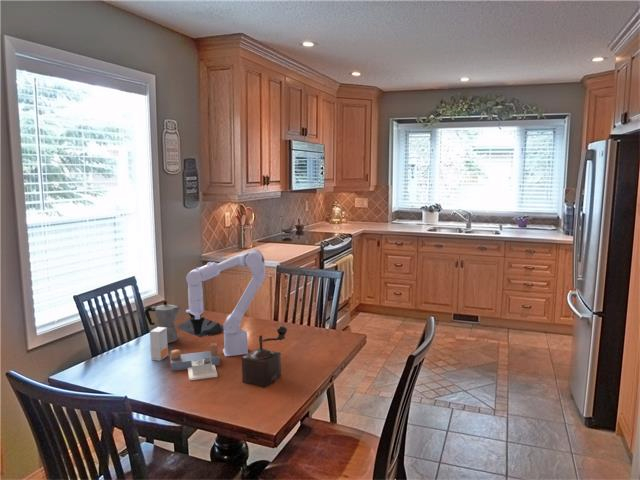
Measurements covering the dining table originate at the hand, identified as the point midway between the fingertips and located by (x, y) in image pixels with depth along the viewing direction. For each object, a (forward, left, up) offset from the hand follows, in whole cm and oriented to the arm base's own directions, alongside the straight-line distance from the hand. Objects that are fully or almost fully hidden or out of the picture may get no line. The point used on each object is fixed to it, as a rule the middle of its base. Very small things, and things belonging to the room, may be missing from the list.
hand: (197, 331), depth 199 cm
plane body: (+2, +11, -9) cm, 15 cm away
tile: (0, +21, -9) cm, 23 cm away
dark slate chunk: (-4, -32, -10) cm, 33 cm away
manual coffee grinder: (-22, +32, -10) cm, 40 cm away
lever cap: (0, +21, -9) cm, 23 cm away
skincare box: (+15, 0, -10) cm, 18 cm away
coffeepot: (+13, -21, -10) cm, 26 cm away
